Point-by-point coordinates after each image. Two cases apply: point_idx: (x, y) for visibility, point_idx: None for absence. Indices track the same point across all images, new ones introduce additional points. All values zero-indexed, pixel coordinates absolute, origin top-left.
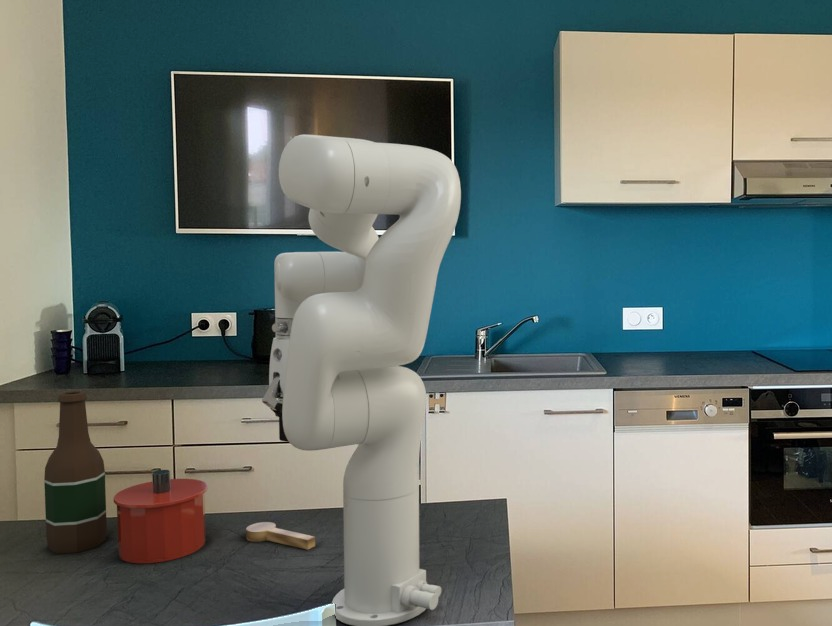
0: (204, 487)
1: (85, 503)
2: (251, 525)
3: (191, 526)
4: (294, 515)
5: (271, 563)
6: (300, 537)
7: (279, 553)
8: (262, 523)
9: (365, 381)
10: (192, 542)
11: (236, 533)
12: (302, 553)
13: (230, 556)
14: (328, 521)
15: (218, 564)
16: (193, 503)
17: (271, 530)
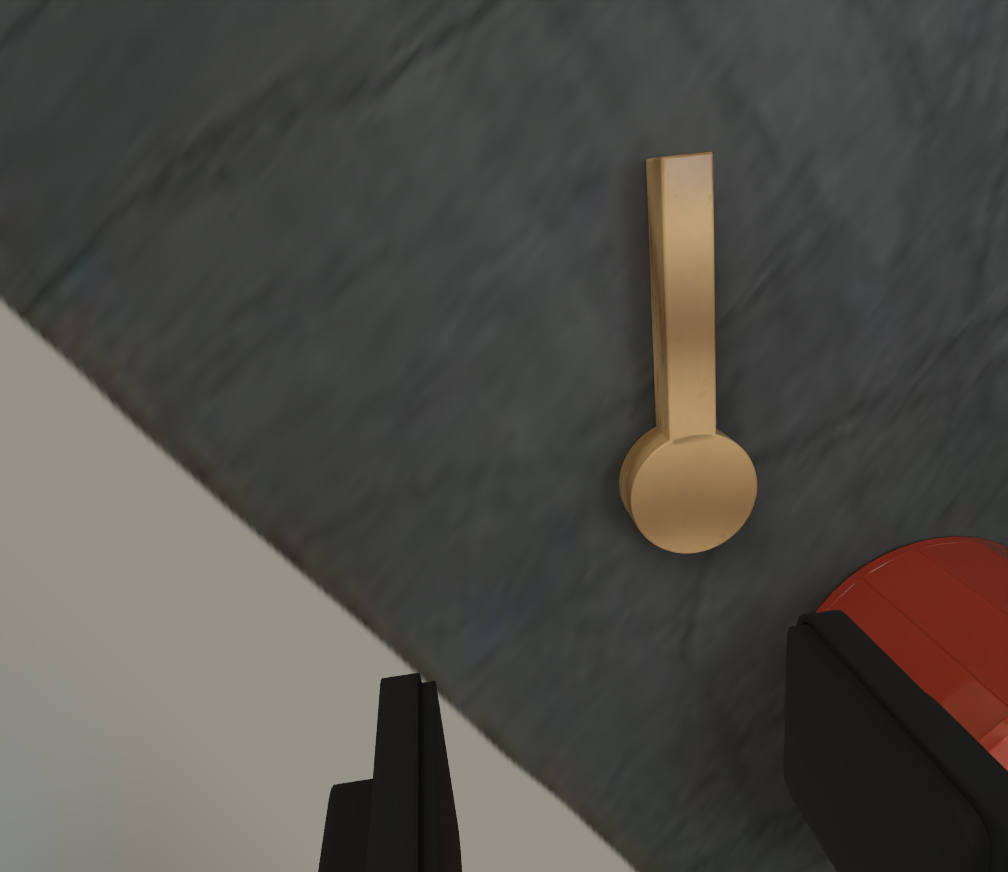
0: (1005, 751)
1: None
2: (703, 543)
3: (1003, 595)
4: (424, 582)
5: (874, 171)
6: (706, 213)
7: (778, 240)
8: (661, 527)
9: None
10: (948, 561)
11: (701, 591)
12: (732, 143)
13: (885, 393)
14: (381, 387)
15: (962, 359)
16: None
17: (704, 416)
